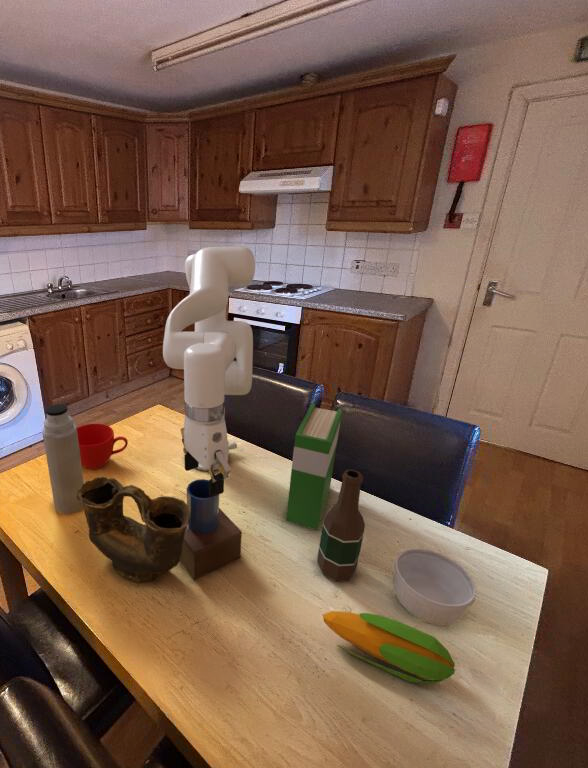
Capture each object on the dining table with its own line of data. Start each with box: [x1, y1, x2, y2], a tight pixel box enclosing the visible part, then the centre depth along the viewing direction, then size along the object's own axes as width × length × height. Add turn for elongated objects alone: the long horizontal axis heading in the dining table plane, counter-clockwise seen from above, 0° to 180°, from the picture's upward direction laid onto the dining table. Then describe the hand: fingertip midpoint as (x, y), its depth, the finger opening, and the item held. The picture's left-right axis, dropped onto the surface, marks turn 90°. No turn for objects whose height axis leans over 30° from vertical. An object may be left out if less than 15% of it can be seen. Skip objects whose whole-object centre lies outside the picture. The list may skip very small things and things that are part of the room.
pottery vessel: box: [77, 476, 191, 584], centre depth 86 cm, size 25×11×20 cm, turn 64°
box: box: [180, 535, 243, 581], centre depth 92 cm, size 13×12×7 cm
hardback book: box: [285, 403, 343, 531], centre depth 102 cm, size 18×7×24 cm, turn 152°
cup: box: [186, 478, 220, 534], centre depth 88 cm, size 7×7×9 cm
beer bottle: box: [316, 469, 366, 582], centre depth 83 cm, size 8×8×24 cm
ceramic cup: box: [77, 423, 129, 470], centre depth 123 cm, size 13×17×10 cm
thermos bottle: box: [41, 403, 85, 515], centre depth 102 cm, size 8×8×28 cm
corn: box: [322, 610, 456, 685], centre depth 69 cm, size 7×8×20 cm
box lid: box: [184, 507, 243, 555], centre depth 90 cm, size 13×12×1 cm
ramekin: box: [393, 547, 477, 626], centre depth 79 cm, size 13×13×7 cm
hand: (203, 480), depth 86 cm, fingers open, 9 cm apart
